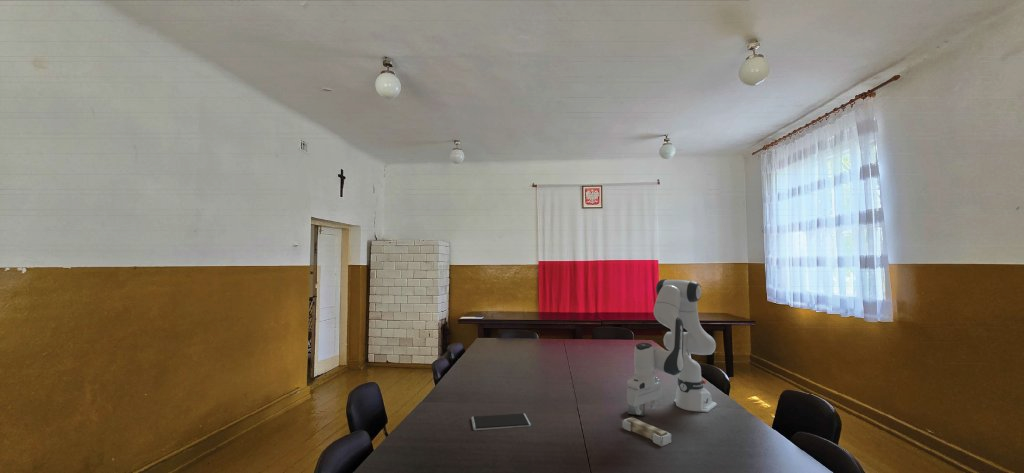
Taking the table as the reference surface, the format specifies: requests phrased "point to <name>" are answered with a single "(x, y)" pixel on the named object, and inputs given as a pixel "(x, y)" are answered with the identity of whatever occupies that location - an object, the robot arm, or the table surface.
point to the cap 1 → (627, 424)
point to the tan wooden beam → (645, 428)
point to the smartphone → (499, 421)
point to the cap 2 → (662, 439)
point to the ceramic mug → (633, 411)
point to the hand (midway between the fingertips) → (645, 411)
